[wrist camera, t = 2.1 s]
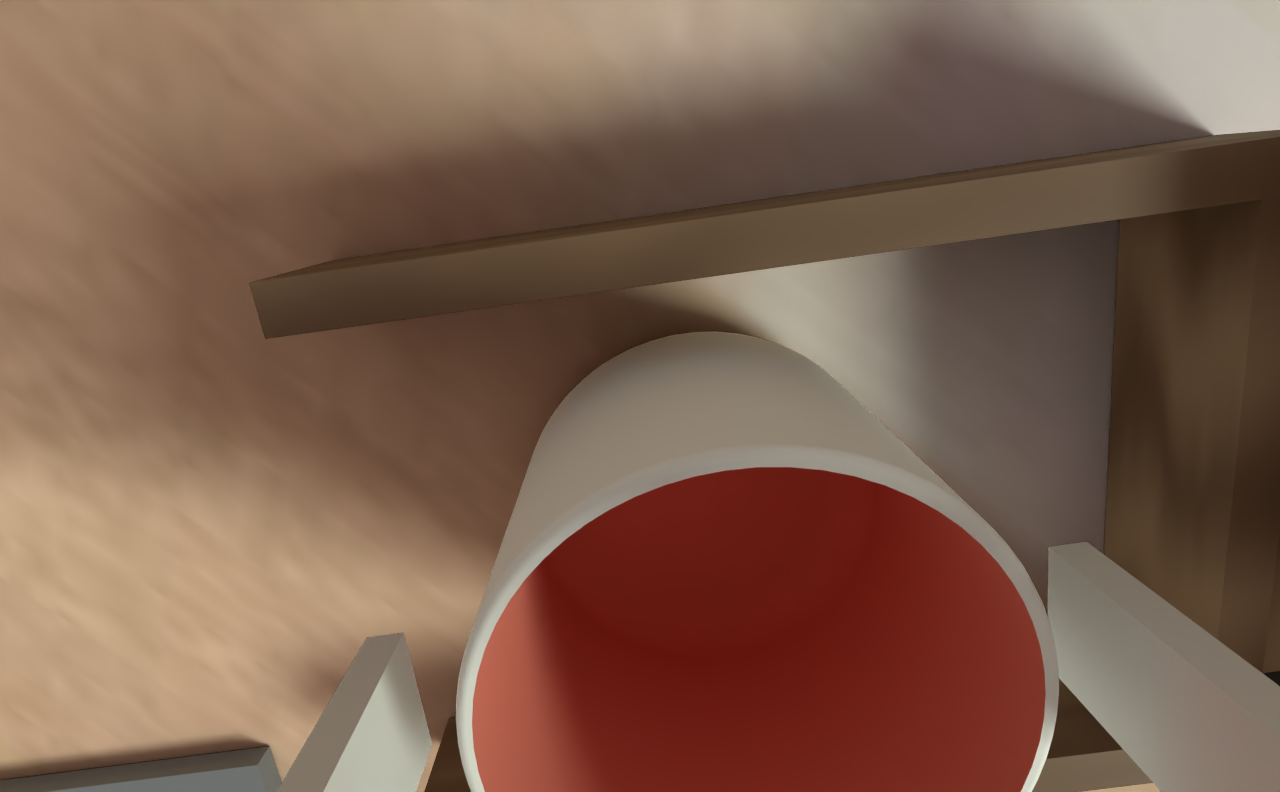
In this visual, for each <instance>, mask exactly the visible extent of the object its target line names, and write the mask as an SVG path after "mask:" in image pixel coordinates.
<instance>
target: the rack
mask: <svg viewBox="0 0 1280 792" xmlns="http://www.w3.org/2000/svg"><path fill="white" fill-rule="evenodd" d="M1119 219H1120V225H1119V246H1118V267H1117V288H1116V309H1115V330H1114V351H1113V372H1112V393H1111V414H1110V435H1109V456H1108V477H1107V499H1106V520H1105V541H1104V555H1105V556H1107V557H1108V558H1109V559H1111V560H1112V561H1113V562H1115V563H1116V564H1117V565H1119V566H1120V567H1121V568H1123V569H1124V570H1125V571H1127V572H1128V573H1129V574H1131V575H1132V576H1133V577H1135V578H1136V579H1137V580H1139V581H1140V582H1141V583H1143V584H1144V585H1145V586H1147V587H1148V588H1149V589H1151V590H1152V591H1153V592H1155V593H1156V594H1157V595H1159V596H1160V597H1161V598H1163V599H1164V600H1165V601H1167V602H1168V603H1169V604H1171V605H1172V606H1173V607H1175V608H1176V609H1177V610H1179V611H1180V612H1181V613H1183V614H1184V615H1185V616H1187V617H1188V618H1189V619H1191V620H1192V621H1193V622H1195V623H1196V624H1197V625H1199V626H1200V627H1201V628H1203V629H1204V630H1205V631H1207V632H1208V633H1209V634H1211V635H1212V636H1213V637H1215V638H1216V639H1217V640H1219V641H1220V642H1221V643H1223V644H1224V645H1225V646H1227V647H1228V648H1229V649H1231V650H1232V651H1233V652H1235V653H1236V654H1237V655H1239V656H1240V657H1241V658H1243V659H1244V660H1245V661H1247V662H1248V663H1249V664H1251V665H1252V666H1253V667H1255V668H1256V669H1257V670H1259V671H1260V672H1261V673H1267V672H1275V671H1280V130H1273V131H1261V132H1248V133H1236V134H1223V135H1213V136H1206V137H1199V138H1192V139H1185V140H1178V141H1171V142H1164V143H1157V144H1150V145H1143V146H1136V147H1128V148H1121V149H1114V150H1107V151H1100V152H1093V153H1086V154H1079V155H1072V156H1065V157H1058V158H1051V159H1044V160H1037V161H1030V162H1023V163H1016V164H1009V165H1002V166H995V167H988V168H981V169H974V170H967V171H960V172H953V173H945V174H938V175H931V176H924V177H917V178H910V179H903V180H896V181H889V182H882V183H875V184H868V185H861V186H854V187H847V188H840V189H833V190H826V191H819V192H812V193H805V194H798V195H791V196H784V197H777V198H769V199H762V200H755V201H748V202H741V203H734V204H727V205H720V206H713V207H706V208H699V209H692V210H685V211H678V212H671V213H664V214H657V215H650V216H643V217H636V218H629V219H622V220H615V221H608V222H601V223H594V224H586V225H579V226H572V227H565V228H558V229H551V230H544V231H537V232H530V233H523V234H516V235H509V236H502V237H495V238H488V239H481V240H474V241H467V242H460V243H453V244H446V245H439V246H432V247H425V248H418V249H410V250H403V251H396V252H389V253H382V254H375V255H368V256H361V257H354V258H347V259H340V260H333V261H329V262H325V263H322V264H318V265H314V266H310V267H307V268H303V269H299V270H295V271H292V272H288V273H284V274H280V275H277V276H273V277H269V278H265V279H262V280H258V281H254V282H250V283H249V284H250V287H251V291H252V294H253V298H254V301H255V305H256V308H257V312H258V315H259V319H260V322H261V326H262V329H263V332H264V336H265V339H268V338H275V337H282V336H289V335H297V334H304V333H311V332H318V331H325V330H332V329H339V328H347V327H354V326H361V325H368V324H375V323H382V322H389V321H397V320H404V319H411V318H418V317H425V316H432V315H439V314H447V313H454V312H461V311H468V310H475V309H482V308H490V307H497V306H504V305H511V304H518V303H525V302H532V301H540V300H547V299H554V298H561V297H568V296H575V295H582V294H590V293H597V292H604V291H611V290H618V289H625V288H632V287H640V286H647V285H654V284H661V283H668V282H675V281H682V280H690V279H697V278H704V277H711V276H718V275H725V274H733V273H740V272H747V271H754V270H761V269H768V268H775V267H783V266H790V265H797V264H804V263H811V262H818V261H825V260H833V259H840V258H847V257H854V256H861V255H868V254H875V253H883V252H890V251H897V250H904V249H911V248H918V247H926V246H933V245H940V244H947V243H954V242H961V241H968V240H976V239H983V238H990V237H997V236H1004V235H1011V234H1018V233H1026V232H1033V231H1040V230H1047V229H1054V228H1061V227H1068V226H1076V225H1083V224H1090V223H1097V222H1104V221H1111V220H1119ZM1146 783H1153V782H1152V781H1151V780H1150V779H1149V777H1148V776H1147V775H1146V774H1145V773H1144V772H1143V771H1142V770H1141V769H1140V767H1139V766H1138V765H1137V764H1136V763H1135V762H1134V761H1133V760H1132V759H1131V757H1130V756H1129V755H1128V754H1127V753H1126V752H1125V751H1124V750H1123V749H1122V747H1121V746H1120V745H1119V744H1118V743H1117V742H1116V741H1115V740H1114V739H1113V737H1112V736H1111V735H1110V734H1109V733H1108V732H1107V731H1106V730H1105V729H1104V727H1103V726H1102V725H1101V724H1100V723H1099V722H1098V721H1097V720H1096V719H1095V717H1094V716H1093V715H1092V714H1091V713H1090V712H1089V711H1088V710H1087V709H1086V707H1085V706H1084V705H1083V704H1082V703H1081V702H1080V701H1079V700H1078V699H1077V697H1076V696H1075V695H1074V694H1073V693H1072V692H1071V691H1070V690H1069V689H1068V687H1067V686H1066V685H1065V684H1064V683H1063V682H1062V681H1061V680H1060V678H1059V698H1058V710H1057V718H1056V723H1055V728H1054V734H1053V738H1052V741H1051V745H1050V748H1049V752H1048V755H1047V758H1046V761H1045V763H1044V766H1043V768H1042V771H1041V773H1040V776H1039V778H1038V780H1037V782H1036V784H1035V786H1034V788H1033V790H1032V792H1081V791H1089V790H1098V789H1106V788H1114V787H1122V786H1130V785H1138V784H1146ZM425 792H471V790H470V788H469V785H468V782H467V779H466V776H465V772H464V769H463V766H462V761H461V756H460V751H459V746H458V738H457V727H456V717H455V718H449V720H448V723H447V726H446V729H445V732H444V735H443V738H442V741H441V744H440V747H439V750H438V753H437V756H436V759H435V762H434V765H433V768H432V771H431V774H430V777H429V780H428V783H427V786H426V789H425Z"/></svg>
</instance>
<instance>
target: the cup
mask: <svg viewBox="0 0 1280 792" xmlns="http://www.w3.org/2000/svg"><path fill="white" fill-rule="evenodd" d="M1058 698H1059V669H1058V661H1057V653H1056V646H1055V641H1054V637H1053V633H1052V629H1051V625H1050V622H1049V619H1048V616H1047V613H1046V610H1045V607H1044V605H1043V602H1042V600H1041V598H1040V596H1039V594H1038V592H1037V590H1036V588H1035V586H1034V584H1033V582H1032V580H1031V578H1030V577H1029V575H1028V573H1027V571H1026V569H1025V568H1024V566H1023V565H1022V563H1021V562H1020V561H1019V559H1018V558H1017V556H1016V555H1015V554H1014V552H1013V551H1012V550H1011V548H1010V547H1009V545H1008V544H1007V543H1006V542H1005V541H1004V540H1003V539H1002V538H1001V536H1000V535H999V534H998V533H997V532H996V531H995V530H994V529H993V528H992V527H991V526H990V525H989V524H988V523H987V522H986V521H985V520H984V519H983V518H982V517H981V516H980V515H979V514H978V513H977V512H976V511H975V510H974V509H972V508H971V507H970V506H969V505H968V504H967V503H966V502H965V501H964V500H963V499H962V498H961V497H960V496H959V495H958V494H957V493H956V492H954V491H953V490H952V489H951V488H950V487H949V486H948V485H947V484H946V483H945V482H944V481H943V480H942V479H941V478H940V477H939V476H938V475H937V474H935V473H934V472H933V471H932V470H931V469H930V468H929V467H928V466H927V465H926V464H925V463H924V462H923V461H922V460H921V459H920V458H919V457H917V456H916V455H915V454H914V453H913V452H912V451H911V450H910V449H909V448H908V447H907V446H906V445H905V444H904V443H903V442H902V441H901V440H899V439H898V438H897V437H896V436H895V435H894V434H893V433H892V432H891V431H890V430H889V429H888V428H887V427H886V426H885V425H884V424H883V423H881V422H880V421H879V420H878V419H877V418H876V417H875V416H874V415H873V414H872V413H871V412H870V411H869V410H868V409H867V408H866V407H864V406H863V405H862V404H861V403H860V402H859V401H858V400H857V399H856V398H855V397H854V396H853V395H852V394H851V393H850V392H849V391H848V390H846V389H845V388H844V387H843V386H842V385H841V384H840V383H839V382H838V381H837V380H836V379H834V378H833V377H832V376H831V375H830V374H829V373H828V372H827V371H825V370H824V369H823V368H821V367H820V366H818V365H817V364H816V363H814V362H813V361H811V360H809V359H808V358H806V357H804V356H803V355H801V354H799V353H797V352H795V351H793V350H791V349H789V348H786V347H784V346H782V345H779V344H776V343H773V342H770V341H768V340H765V339H762V338H758V337H753V336H748V335H744V334H738V333H728V332H691V333H684V334H677V335H671V336H667V337H663V338H659V339H655V340H652V341H649V342H646V343H644V344H641V345H638V346H636V347H633V348H631V349H629V350H627V351H625V352H623V353H621V354H619V355H617V356H615V357H613V358H612V359H610V360H608V361H607V362H605V363H604V364H602V365H601V366H599V367H598V368H596V369H595V370H594V371H593V372H591V373H590V374H589V375H588V376H586V377H585V378H584V379H583V380H582V381H581V382H580V383H579V384H578V385H577V386H576V387H575V388H574V389H573V390H572V391H571V392H570V393H569V394H568V395H567V396H566V397H565V398H564V400H563V401H562V402H561V403H560V404H559V406H558V407H557V409H556V410H555V412H554V413H553V414H552V416H551V417H550V419H549V421H548V422H547V424H546V426H545V428H544V430H543V431H542V433H541V435H540V438H539V440H538V442H537V445H536V447H535V449H534V452H533V455H532V458H531V461H530V464H529V466H528V469H527V472H526V475H525V478H524V481H523V484H522V487H521V489H520V492H519V495H518V498H517V501H516V504H515V507H514V510H513V513H512V515H511V518H510V521H509V524H508V527H507V530H506V532H505V535H504V538H503V541H502V544H501V547H500V550H499V552H498V555H497V558H496V561H495V564H494V567H493V569H492V572H491V575H490V578H489V581H488V584H487V587H486V589H485V592H484V595H483V598H482V601H481V604H480V606H479V609H478V612H477V615H476V618H475V621H474V624H473V626H472V629H471V632H470V635H469V638H468V641H467V645H466V648H465V651H464V655H463V658H462V662H461V667H460V672H459V678H458V686H457V695H456V727H457V738H458V746H459V751H460V756H461V761H462V766H463V769H464V772H465V776H466V779H467V782H468V785H469V788H470V790H471V792H1032V790H1033V788H1034V786H1035V784H1036V782H1037V780H1038V778H1039V776H1040V773H1041V771H1042V768H1043V766H1044V763H1045V761H1046V758H1047V755H1048V752H1049V748H1050V745H1051V741H1052V738H1053V734H1054V728H1055V723H1056V718H1057V710H1058Z"/></svg>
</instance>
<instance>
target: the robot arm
mask: <svg viewBox="0 0 1280 792" xmlns="http://www.w3.org/2000/svg"><path fill="white" fill-rule="evenodd" d="M1048 619H1049V622H1050V625H1051V629H1052V633H1053V637H1054V641H1055V646H1056V653H1057V661H1058V669H1059V678H1060V680H1061V681H1062V682H1063V683H1064V684H1065V685H1066V686H1067V687H1068V689H1069V690H1070V691H1071V692H1072V693H1073V694H1074V695H1075V696H1076V697H1077V699H1078V700H1079V701H1080V702H1081V703H1082V704H1083V705H1084V706H1085V707H1086V709H1087V710H1088V711H1089V712H1090V713H1091V714H1092V715H1093V716H1094V717H1095V719H1096V720H1097V721H1098V722H1099V723H1100V724H1101V725H1102V726H1103V727H1104V729H1105V730H1106V731H1107V732H1108V733H1109V734H1110V735H1111V736H1112V737H1113V739H1114V740H1115V741H1116V742H1117V743H1118V744H1119V745H1120V746H1121V747H1122V749H1123V750H1124V751H1125V752H1126V753H1127V754H1128V755H1129V756H1130V757H1131V759H1132V760H1133V761H1134V762H1135V763H1136V764H1137V765H1138V766H1139V767H1140V769H1141V770H1142V771H1143V772H1144V773H1145V774H1146V775H1147V776H1148V777H1149V779H1150V780H1151V781H1152V782H1153V783H1154V784H1155V785H1156V786H1157V787H1158V789H1159V790H1160V791H1161V792H1280V671H1275V672H1267V673H1261V672H1260V671H1259V670H1257V669H1256V668H1255V667H1253V666H1252V665H1251V664H1249V663H1248V662H1247V661H1245V660H1244V659H1243V658H1241V657H1240V656H1239V655H1237V654H1236V653H1235V652H1233V651H1232V650H1231V649H1229V648H1228V647H1227V646H1225V645H1224V644H1223V643H1221V642H1220V641H1219V640H1217V639H1216V638H1215V637H1213V636H1212V635H1211V634H1209V633H1208V632H1207V631H1205V630H1204V629H1203V628H1201V627H1200V626H1199V625H1197V624H1196V623H1195V622H1193V621H1192V620H1191V619H1189V618H1188V617H1187V616H1185V615H1184V614H1183V613H1181V612H1180V611H1179V610H1177V609H1176V608H1175V607H1173V606H1172V605H1171V604H1169V603H1168V602H1167V601H1165V600H1164V599H1163V598H1161V597H1160V596H1159V595H1157V594H1156V593H1155V592H1153V591H1152V590H1151V589H1149V588H1148V587H1147V586H1145V585H1144V584H1143V583H1141V582H1140V581H1139V580H1137V579H1136V578H1135V577H1133V576H1132V575H1131V574H1129V573H1128V572H1127V571H1125V570H1124V569H1123V568H1121V567H1120V566H1119V565H1117V564H1116V563H1115V562H1113V561H1112V560H1111V559H1109V558H1108V557H1107V556H1105V555H1104V554H1103V553H1101V552H1100V551H1099V550H1097V549H1096V548H1095V547H1093V546H1092V545H1091V544H1089V543H1088V542H1080V543H1072V544H1065V545H1057V546H1050V547H1048ZM431 747H432V741H431V737H430V733H429V729H428V726H427V722H426V718H425V714H424V710H423V706H422V702H421V698H420V694H419V690H418V686H417V683H416V679H415V675H414V671H413V667H412V663H411V659H410V655H409V651H408V647H407V643H406V640H405V636H404V633H397V634H390V635H382V636H375V637H367V638H366V640H365V641H364V643H363V645H362V646H361V648H360V650H359V652H358V653H357V655H356V657H355V658H354V660H353V662H352V664H351V665H350V667H349V669H348V670H347V672H346V674H345V676H344V677H343V679H342V681H341V682H340V684H339V686H338V688H337V689H336V691H335V693H334V694H333V696H332V698H331V700H330V701H329V703H328V705H327V706H326V708H325V710H324V712H323V713H322V715H321V717H320V718H319V720H318V722H317V724H316V725H315V727H314V729H313V730H312V732H311V734H310V736H309V737H308V739H307V741H306V742H305V744H304V746H303V748H302V749H301V751H300V753H299V754H298V756H297V758H296V760H295V761H294V763H293V765H292V766H291V768H290V770H289V772H288V773H287V775H286V777H285V778H284V780H283V782H282V784H281V785H280V787H279V789H278V790H277V792H416V790H417V787H418V785H419V782H420V779H421V776H422V773H423V770H424V767H425V765H426V762H427V759H428V756H429V753H430V750H431Z"/></svg>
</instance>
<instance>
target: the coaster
mask: <svg viewBox="0 0 1280 792" xmlns="http://www.w3.org/2000/svg"><path fill="white" fill-rule="evenodd" d="M281 784H282V782H281V779H280V776H279V773H278V770H277V767H276V764H275V761H274V758H273V756H272V753H271V750H270V747H269V746H268V747H260V748H252V749H244V750H236V751H229V752H221V753H213V754H205V755H197V756H189V757H181V758H173V759H166V760H158V761H150V762H142V763H134V764H126V765H118V766H111V767H103V768H95V769H87V770H79V771H71V772H63V773H55V774H48V775H40V776H32V777H24V778H16V779H8V780H0V792H277V790H278V789H279V787H280V785H281Z"/></svg>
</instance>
